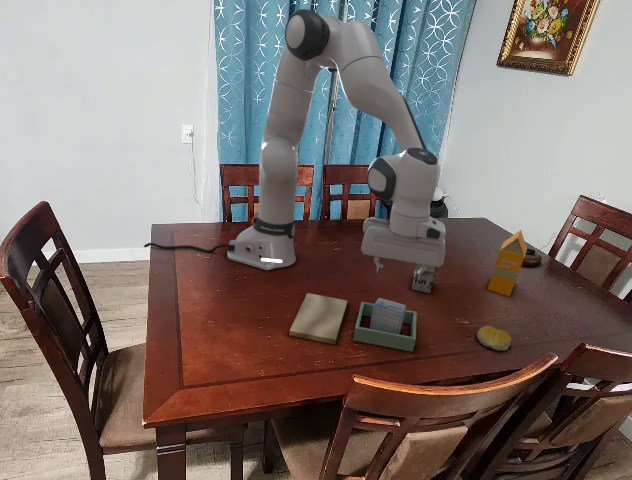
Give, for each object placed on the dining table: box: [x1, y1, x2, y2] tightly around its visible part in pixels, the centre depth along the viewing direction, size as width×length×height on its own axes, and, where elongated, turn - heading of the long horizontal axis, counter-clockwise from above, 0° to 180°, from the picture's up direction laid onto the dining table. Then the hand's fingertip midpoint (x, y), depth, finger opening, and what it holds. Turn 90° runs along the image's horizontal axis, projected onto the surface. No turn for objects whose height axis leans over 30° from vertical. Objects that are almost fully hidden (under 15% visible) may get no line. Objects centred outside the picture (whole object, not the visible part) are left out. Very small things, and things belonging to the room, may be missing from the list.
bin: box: [352, 301, 418, 352], centre depth 118 cm, size 16×14×4 cm
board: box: [288, 292, 348, 345], centre depth 120 cm, size 12×20×2 cm, turn 172°
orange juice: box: [487, 229, 527, 297], centre depth 145 cm, size 8×9×20 cm
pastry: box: [521, 245, 543, 268], centre depth 172 cm, size 11×12×6 cm
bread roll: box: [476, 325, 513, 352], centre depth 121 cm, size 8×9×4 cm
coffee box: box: [411, 263, 438, 294], centre depth 141 cm, size 9×6×16 cm
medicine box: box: [369, 297, 407, 335], centre depth 117 cm, size 8×4×9 cm, turn 71°
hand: (397, 275), depth 110 cm, fingers open, 8 cm apart
